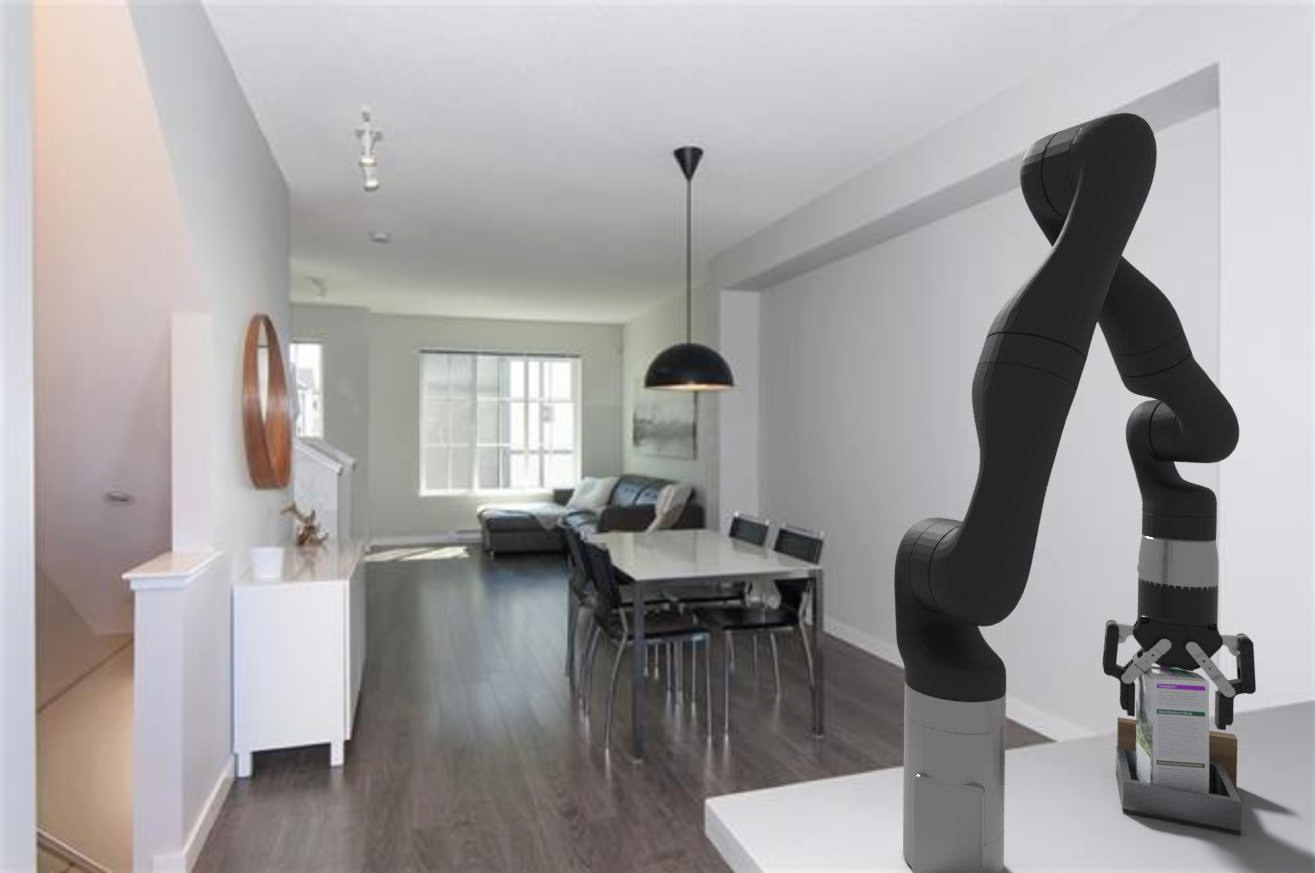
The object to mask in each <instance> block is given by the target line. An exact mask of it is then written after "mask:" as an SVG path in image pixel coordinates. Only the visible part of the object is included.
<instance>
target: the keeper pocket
mask: <svg viewBox="0 0 1315 873" xmlns="http://www.w3.org/2000/svg"><path fill="white" fill-rule="evenodd" d="M1115 749H1116V750H1115V752H1116V753H1115V756H1116V757H1115V758H1116V759H1115V776H1116V777H1115V778H1116V782H1117V787H1118V788H1117V789H1118V793H1119V798H1120V804H1121V810H1122V813H1123V814H1128V815H1132V816H1137V817H1143V818H1149V819H1154V820H1158V821H1164V822H1168V823H1175V824H1179V825H1185V826H1190V827H1195V828H1199V829H1206V830H1211V831H1216V832H1221V833H1226V834H1231V835H1236V836H1242V801H1241V799H1240V796H1239V795H1238V792H1237V789H1236V790H1235V788H1234V786H1233V784H1232V782H1231V780H1230V778H1229V776H1228V774H1227V772H1226V770H1225V768H1224V766H1223V764H1222V763H1220V762H1213V761H1209V793H1203V792H1198V791H1192V790H1186V789H1181V788H1175V787H1169V786H1164V785H1158V784H1152V783H1147V782H1141V781H1136V749H1133V748H1127V747H1121V746H1117V745H1116V747H1115Z"/></svg>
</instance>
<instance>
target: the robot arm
mask: <svg viewBox="0 0 1315 873" xmlns="http://www.w3.org/2000/svg"><path fill="white" fill-rule="evenodd" d="M1157 151H1158V149H1157V142H1156V138H1155V133H1154V131H1153V129H1152V127H1151V126H1150V124H1149V123H1148V122H1147V120H1146V119H1144V118H1143V117H1141V116H1140V115H1139V114H1136V113H1129V112H1120V113H1119V112H1118V113H1112V114H1109V115H1105V116H1101V117H1098V118H1094V119H1091V120H1089V121H1086V122H1082V123H1080V124H1077V125H1074V126H1070V127H1068V128H1065V129H1062V130H1059V131H1057V132H1054V133H1053V132H1052V133H1051V134H1048V135H1045V136H1043V137H1042V138H1040V139H1038V140H1036V141H1035V142H1034V143H1033V144H1031V145H1030V146H1029V148H1028V149H1027V151H1026V152H1025V153H1024V156H1023V158H1022V161H1021V163H1020V165H1021V166H1020V172H1019V183H1020V184H1019V185H1020V188H1021V193H1022V196H1023V198H1024V200H1025V203H1026V205H1027V208H1028V210H1029V211H1030V213H1031V216H1032V217H1033V219H1034V220H1035V222H1036V224H1037V225H1038V227H1039V229H1040V230H1041V232H1042V233H1043V235H1044V236H1045V238H1046V240H1047V241H1048V242H1049V244H1050V246H1051V249H1050V250H1049V251H1048V252H1047V254H1046V256H1044V258H1043V259H1042V261H1041V262H1040V263H1039V264H1038V265H1037V266H1036V267H1035V269H1033V271H1032V272H1031V273H1030V275H1028V276H1027V278H1025V280H1024V281H1023V283H1021V284H1020V286H1019V287H1018V288H1017V289H1016V290H1015V292H1013V294H1012V295H1011V296H1010V297H1009V299H1008V300H1007V301H1006V302H1005V303H1004V305H1003V306H1002V307H1001V309H1000V310H999V312H997V314H996V316H995V318H994V320H993V321H992V323H991V325H990V328H989V330H988V332H987V335H986V337H985V340H984V344H983V346H982V350H981V353H980V355H979V358H978V362H977V364H976V365H977V366H976V368H975V371H974V375H973V379H972V385H971V405H972V412H973V419H974V425H975V429H976V430H975V431H976V435H977V441H978V448H979V467H978V473H977V478H976V481H975V482H976V483H975V486H974V489H973V493H972V495H971V496H972V497H971V499H970V502H969V506H968V508H967V510H966V513H965V516H964V518H963V520H957V519H953V518H945V517H929V518H925V519H922V520H919V521H918V522H916V523H915V524H913V525H911V527H910V528H909V529H908V530H907V531H906V532H905V534H904V535H903V537H902V538H901V541H900V543H899V545H898V548H897V552H896V556H895V563H894V577H893V579H894V581H893V582H894V585H893V586H894V608H895V609H894V612H895V613H894V615H895V617H894V618H895V634H896V635H895V636H896V645H897V649H898V652H899V655H900V658H901V660H902V663H903V666H904V709H903V710H904V712H903V786H902V787H903V789H902V790H903V792H902V793H903V796H902V798H903V800H902V802H903V803H902V805H903V806H902V807H903V808H902V855H903V858H904V859H905V862H907V864H908V865H909V866H910V867H911V868H912V869H911V872H912V873H1004V869H1005V868H1004V867H1005V865H1004V864H1005V862H1004V861H1005V858H1004V857H1005V792H1006V791H1005V789H1006V788H1005V786H1006V784H1005V782H1006V776H1005V775H1006V724H1007V719H1006V718H1007V715H1006V714H1007V670H1006V665H1005V662H1004V661H1003V660H1002V658H1001V657H1000V656H999V655H998V654H997V653H996V651H994V650H993V648H992V647H991V646H990V644H988V642H987V641H986V639H985V638H984V636H983V634H982V632H981V630H980V627H981V628H982V627H985V628H986V627H992V626H995V625H997V624H999V623H1002V621H1004V620H1005V619H1006V618H1008V617H1009V616H1010V615H1011V614H1012V613H1013V611H1014V610H1015V609H1016V608H1017V606H1018V605H1019V602H1020V601H1021V598H1022V597H1023V594H1024V593H1025V589H1026V588H1027V583H1028V580H1029V577H1030V572H1031V569H1032V563H1033V559H1034V554H1035V550H1036V549H1035V548H1036V543H1037V541H1038V540H1037V539H1038V535H1039V534H1038V533H1039V529H1040V524H1041V517H1042V514H1043V513H1042V512H1043V508H1044V504H1045V498H1046V495H1047V489H1048V486H1049V483H1050V478H1051V474H1052V471H1053V467H1054V464H1055V460H1056V456H1057V453H1058V449H1059V446H1060V443H1061V439H1062V436H1063V432H1064V429H1065V425H1066V422H1067V419H1068V416H1069V414H1070V411H1071V407H1072V405H1073V402H1074V400H1075V398H1076V397H1075V396H1076V394H1077V391H1078V388H1079V385H1080V382H1081V379H1082V374H1083V372H1084V369H1085V365H1086V362H1087V359H1088V356H1089V352H1090V349H1091V348H1090V347H1091V344H1092V340H1093V336H1094V333H1095V331H1096V327H1097V324H1098V326H1099V328H1100V330H1101V333H1102V335H1103V336H1104V339H1105V341H1106V344H1107V347H1108V350H1109V352H1110V356H1112V360H1113V362H1114V365H1115V367H1116V369H1117V372H1118V374H1119V377H1120V380H1121V382H1122V384H1123V386H1124V387H1125V388H1126V390H1128V391H1129V392H1130V393H1132V394H1134V395H1137V396H1141V397H1145V398H1146V397H1147V398H1150V399H1152V400H1146V401H1143V402H1142V403H1139V404H1138V405H1137V406H1136V407H1135V408H1134V409H1133V410H1132V412H1131V413H1130V414H1129V416H1128V418H1127V422H1126V425H1125V442H1126V446H1127V450H1128V454H1129V457H1130V460H1131V464H1132V467H1133V470H1134V474H1135V477H1136V481H1137V486H1138V488H1139V492H1140V497H1141V503H1142V504H1141V505H1142V506H1141V507H1142V508H1141V514H1142V515H1141V540H1140V544H1139V550H1138V563H1137V566H1136V567H1137V573H1138V576H1137V577H1138V578H1137V586H1138V587H1137V618H1136V620H1135V623H1134V624H1133V625H1131V624H1125V623H1124V624H1123V623H1118V622H1117V621H1116V620H1114V619H1109V620H1106V623H1105V629H1104V630H1105V631H1104V639H1103V641H1104V644H1103V651H1102V652H1103V653H1102V663H1101V664H1102V665H1101V666H1102V669H1103V673H1104V674H1105V675H1106V676H1108V677H1109V676H1110V677H1113V678H1115V679H1117V680H1118V681H1119V703H1120V707H1121V709H1122V710H1123V711H1126V715H1127V716H1128V717H1135V716H1136V683H1135V681H1136V678H1137V677H1138V676H1139V675H1140V674H1141V673H1143V672H1145V671H1146V670H1147V669H1148V668H1149V667H1150V666H1151V665H1152V664H1154V663H1155V664H1157V665H1159V666H1160V667H1162V668H1176V667H1177V668H1180V669H1183V670H1187V671H1195V670H1198V669H1202V670H1203V671H1204V673H1205V674H1206V676H1208V679H1210V680H1211V681H1212V683H1214V685H1215V686H1216V687H1217V690H1215V692H1214V725H1215V726H1216V729H1217V730H1220V731H1221V730H1222V731H1226V730H1227V726H1232V725H1233V722H1234V709H1235V708H1234V705H1235V704H1234V701H1235V700H1234V699H1235V698H1236V696H1239V695H1242V694H1248V695H1253V694H1254V693H1256V691H1257V689H1256V688H1257V685H1256V670H1255V669H1256V666H1255V648H1254V646H1255V645H1254V642H1253V640H1252V639H1251V638H1250V637H1249V636H1248V635H1247V634H1245V633H1241V632H1240V633H1237V634H1236V635H1228V634H1221V633H1220V631H1219V628H1218V619H1219V618H1218V610H1219V564H1220V563H1219V554H1218V547H1217V532H1218V531H1217V526H1218V524H1217V523H1218V522H1217V521H1218V515H1217V514H1218V501H1217V500H1218V499H1217V496H1216V494H1215V492H1214V491H1213V490H1212V489H1211V488H1209V487H1207V486H1204V485H1201V484H1197V483H1193V482H1190V481H1187V480H1186V479H1184V478H1183V477H1182V476H1181V474H1180V473H1179V471H1178V469H1177V466H1176V464H1175V462H1176V463H1190V464H1191V463H1192V464H1213V463H1219V462H1222V461H1224V460H1225V459H1227V458H1229V457H1230V456H1231V455H1232V453H1233V452H1234V451H1235V450H1236V447H1237V446H1238V443H1239V438H1240V425H1239V421H1238V420H1239V419H1238V417H1237V414H1236V412H1235V410H1234V409H1233V406H1232V405H1231V403H1230V402H1229V400H1228V399H1227V397H1226V396H1225V395H1224V394H1223V393H1222V391H1221V390H1220V389H1219V387H1217V385H1216V384H1215V382H1213V380H1212V379H1211V378H1210V376H1209V375H1208V373H1207V372H1206V371H1205V370H1204V369H1203V368H1202V367H1201V366H1200V364H1199V363H1198V362H1197V361H1196V359H1195V357H1194V355H1193V352H1192V349H1191V345H1190V344H1189V341H1188V338H1187V336H1186V333H1185V330H1184V327H1183V324H1182V322H1181V319H1180V316H1179V315H1178V313H1177V311H1176V309H1175V308H1174V305H1173V304H1172V301H1170V299H1169V298H1168V297H1167V296H1166V295H1165V293H1164V292H1163V291H1162V290H1161V289H1160V288H1159V287H1158V286H1157V285H1156V284H1155V283H1154V282H1152V280H1150V279H1149V278H1147V276H1145V274H1143V273H1142V272H1141V271H1139V269H1137V267H1135V266H1134V265H1133V264H1132V263H1131V262H1129V261H1128V260H1127V259H1126V258H1125V257H1124V256H1123V253H1124V251H1125V248H1126V246H1127V244H1128V242H1129V240H1130V237H1131V235H1132V234H1133V231H1134V229H1135V227H1136V224H1137V222H1138V220H1139V217H1140V215H1141V213H1142V210H1143V209H1144V206H1145V203H1146V201H1147V198H1148V196H1149V194H1150V190H1151V189H1152V185H1153V182H1154V176H1155V172H1156V168H1157V159H1158V158H1157V157H1158V156H1157V155H1158V152H1157ZM1129 636H1130V637H1131V636H1132V637H1133V638H1134V639H1135V641H1136V642H1137V643H1138V645H1139V646H1140V648H1139V649H1138V650H1137V651H1136V652H1135V653H1134V654H1133V655H1132V657H1131V659H1130V660H1128V661H1127V663H1125V665H1123V666H1121V665H1119V664H1118V663H1117V658H1118V651H1119V650H1118V649H1119V644H1124V643H1125V642H1126V641H1127V638H1128V637H1129ZM1223 646H1225V647H1227V649H1228V652H1229V653H1230V654H1231V655H1232V656H1234V657H1236V658H1235V660H1236V676H1237V677H1236V678H1233V679H1228V678H1227V677H1226V676H1225V675H1224V674H1223V673H1222V671H1221V670H1220V669H1219V668H1218V666H1217V665H1216V664H1215V662H1214V661H1213V660H1212V659H1211V658H1213V656H1215V654H1216V653H1217V652H1218V651H1220V649H1222V647H1223Z"/></svg>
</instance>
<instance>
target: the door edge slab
mask: <svg viewBox="0 0 1315 873" xmlns="http://www.w3.org/2000/svg"><path fill="white" fill-rule="evenodd" d="M1116 729H1117V730H1116V732H1117V733H1116V734H1117V736H1116V739H1117V740H1116V741H1117V742H1116V746H1121V747H1127V748H1133V749H1136V719H1132V718H1126V717H1119V716H1117V728H1116ZM1209 761H1213V762H1220V763H1222V764H1223V766H1224V768H1225V770H1226V772H1227V774H1228V776H1229V778H1230V780H1231V782H1232V784H1233V786H1234V788H1235V790H1236V791H1237V785H1238V784H1237V783H1238V782H1237V779H1238V778H1237V776H1238V738H1237V736H1236V734H1235V733H1226V732H1220V731H1214V730H1209Z"/></svg>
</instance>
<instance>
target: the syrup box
mask: <svg viewBox="0 0 1315 873" xmlns="http://www.w3.org/2000/svg"><path fill="white" fill-rule="evenodd" d="M1135 682H1136V683H1135V716H1136V719H1135V720H1136V781H1141V782H1147V783H1152V784H1158V785H1164V786H1169V787H1175V788H1181V789H1186V790H1192V791H1198V792H1203V793H1209V731H1210V681H1209V680H1207V679H1206V678H1204V677H1203V676H1202V675H1201V674H1199V673H1197V672H1196V671H1195V670H1194V671H1187V670H1183V669H1180V668H1177V667H1176V668H1162V667H1160V666H1159V665H1157V664H1155V663H1154V664H1152V665H1151V666H1150V667H1149V668H1148V669H1147V670H1146V671H1145V672H1143V673H1141V674H1140V675H1139V676H1138V677H1137V678H1136V679H1135Z"/></svg>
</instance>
